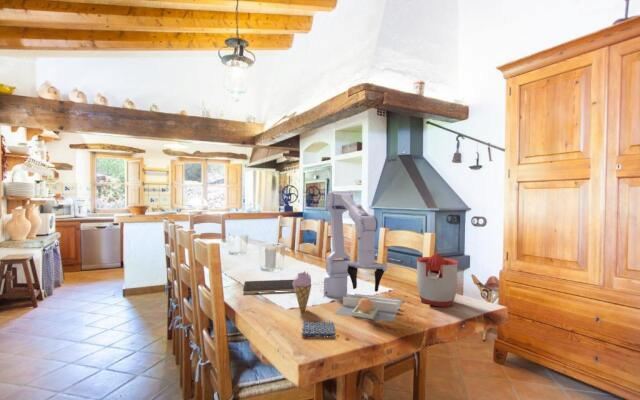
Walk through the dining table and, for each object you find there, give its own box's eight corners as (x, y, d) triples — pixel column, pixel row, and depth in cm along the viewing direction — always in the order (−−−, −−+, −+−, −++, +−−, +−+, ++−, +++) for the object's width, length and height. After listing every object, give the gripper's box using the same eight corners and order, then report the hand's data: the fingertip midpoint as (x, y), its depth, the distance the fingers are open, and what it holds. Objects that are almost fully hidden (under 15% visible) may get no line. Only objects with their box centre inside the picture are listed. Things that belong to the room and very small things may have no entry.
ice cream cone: (296, 316, 111) (296, 273, 111) (289, 311, 117) (290, 269, 117) (313, 313, 115) (314, 271, 115) (306, 308, 120) (306, 268, 120)
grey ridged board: (334, 316, 112) (334, 304, 112) (355, 296, 136) (355, 286, 136) (392, 325, 104) (392, 313, 104) (403, 302, 129) (403, 292, 129)
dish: (351, 315, 110) (351, 311, 110) (357, 309, 117) (357, 305, 117) (373, 319, 107) (373, 314, 107) (378, 312, 114) (378, 308, 114)
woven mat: (334, 326, 105) (334, 320, 105) (336, 340, 94) (336, 333, 94) (302, 326, 104) (302, 320, 104) (300, 340, 94) (300, 333, 94)
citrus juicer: (411, 306, 124) (411, 254, 124) (420, 294, 139) (420, 248, 139) (455, 313, 116) (456, 257, 116) (459, 300, 132) (460, 251, 132)
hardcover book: (297, 293, 141) (297, 288, 141) (243, 295, 137) (243, 290, 137) (293, 283, 157) (293, 279, 157) (244, 285, 153) (244, 280, 153)
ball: (356, 314, 111) (356, 299, 111) (360, 309, 115) (360, 295, 115) (370, 316, 109) (370, 301, 109) (374, 311, 113) (374, 297, 113)
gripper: (342, 250, 111) (342, 290, 111) (384, 253, 106) (384, 295, 106) (348, 247, 118) (348, 285, 118) (388, 250, 112) (388, 289, 112)
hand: (365, 289), depth 112 cm, fingers open, 7 cm apart
